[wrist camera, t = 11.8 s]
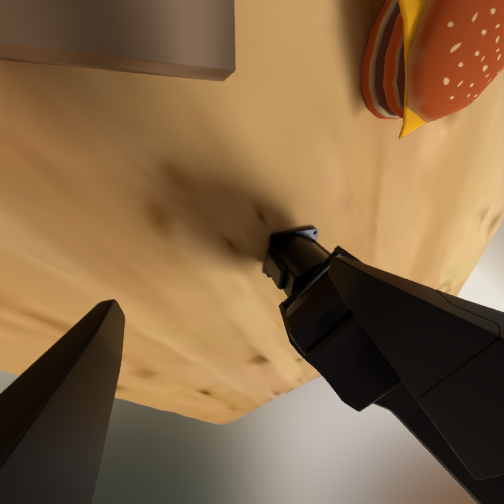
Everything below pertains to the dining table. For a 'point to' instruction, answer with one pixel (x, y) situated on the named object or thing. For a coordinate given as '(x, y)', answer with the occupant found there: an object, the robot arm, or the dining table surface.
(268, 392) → the dining table surface
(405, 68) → the hamburger
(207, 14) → the walnut block
